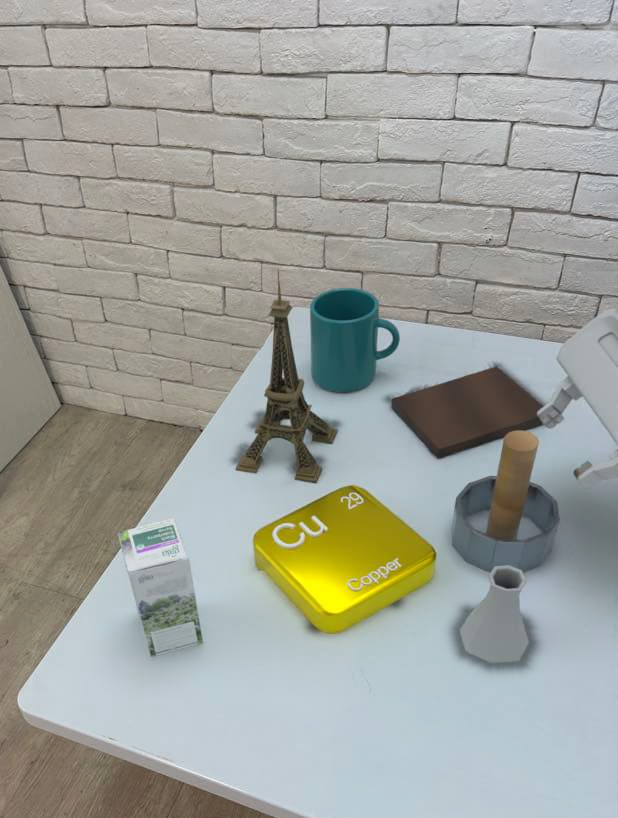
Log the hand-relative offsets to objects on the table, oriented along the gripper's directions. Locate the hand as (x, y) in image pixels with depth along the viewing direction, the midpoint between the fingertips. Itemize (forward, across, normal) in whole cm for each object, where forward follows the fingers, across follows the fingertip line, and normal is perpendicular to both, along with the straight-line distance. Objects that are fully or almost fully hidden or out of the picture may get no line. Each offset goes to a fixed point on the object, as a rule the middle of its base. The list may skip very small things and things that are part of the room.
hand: (560, 450), depth 79 cm
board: (+9, +24, -9) cm, 27 cm away
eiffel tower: (+27, +22, +8) cm, 35 cm away
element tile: (+25, -1, +6) cm, 25 cm away
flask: (+16, -13, -3) cm, 20 cm away
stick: (+12, 0, -6) cm, 14 cm away
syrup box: (+38, -7, +19) cm, 43 cm away
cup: (+18, +36, 0) cm, 40 cm away
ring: (+12, 0, -6) cm, 14 cm away
